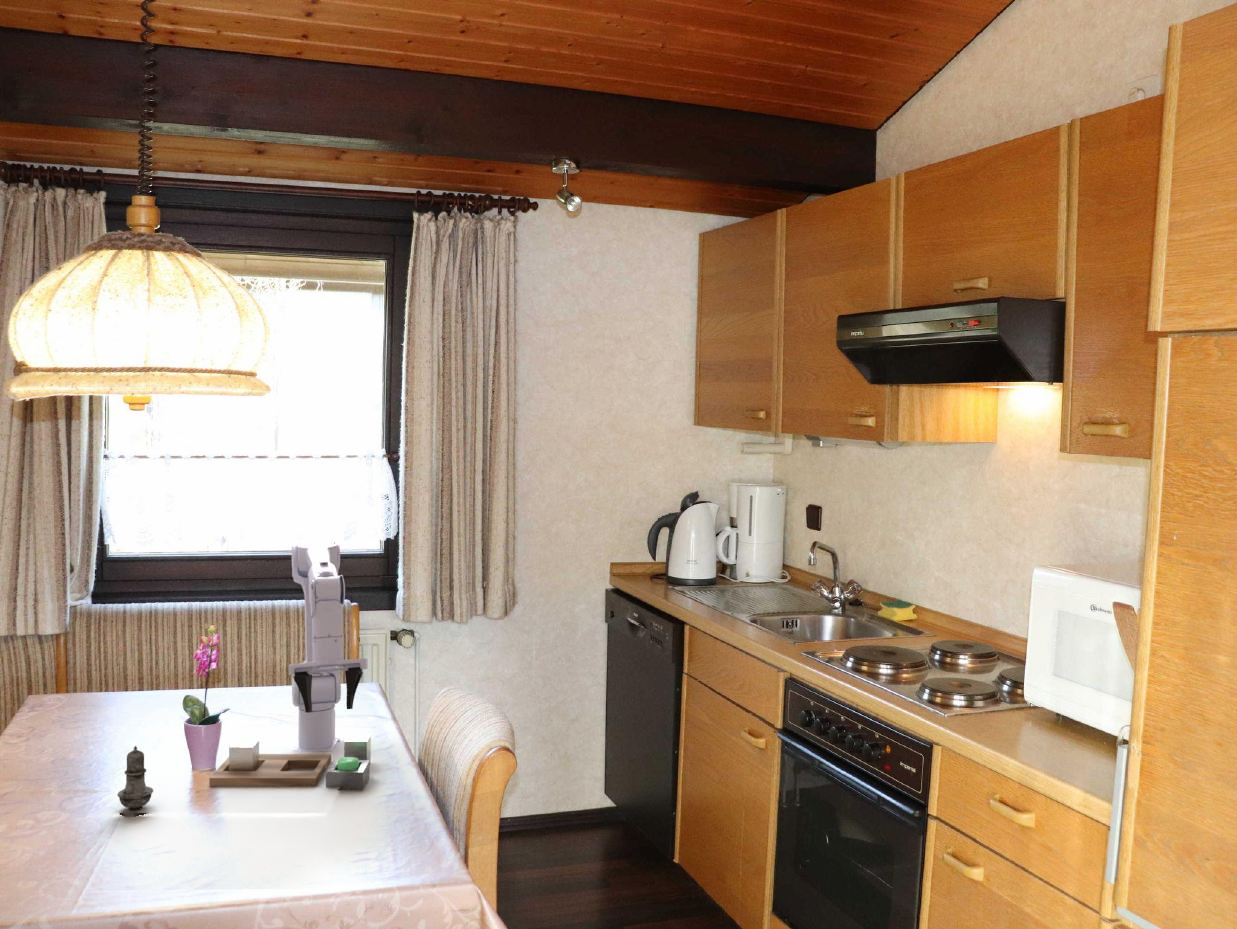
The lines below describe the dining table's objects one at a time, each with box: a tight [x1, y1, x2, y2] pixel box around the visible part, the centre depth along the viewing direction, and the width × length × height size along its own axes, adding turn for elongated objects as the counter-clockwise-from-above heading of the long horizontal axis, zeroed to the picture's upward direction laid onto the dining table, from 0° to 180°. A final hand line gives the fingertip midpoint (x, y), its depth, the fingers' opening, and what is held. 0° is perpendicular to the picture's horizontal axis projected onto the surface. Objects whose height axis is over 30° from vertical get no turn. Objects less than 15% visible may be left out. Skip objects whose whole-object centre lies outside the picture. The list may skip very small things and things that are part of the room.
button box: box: [325, 759, 370, 791], centre depth 206 cm, size 7×7×4 cm
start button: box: [337, 757, 359, 770], centre depth 206 cm, size 4×4×3 cm
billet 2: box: [343, 733, 372, 766], centre depth 216 cm, size 4×4×6 cm
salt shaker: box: [117, 745, 154, 818], centre depth 189 cm, size 6×6×12 cm
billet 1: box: [228, 739, 260, 771], centre depth 208 cm, size 4×4×6 cm
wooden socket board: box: [208, 753, 332, 788], centre depth 209 cm, size 14×20×2 cm
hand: (329, 710), depth 200 cm, fingers open, 7 cm apart
